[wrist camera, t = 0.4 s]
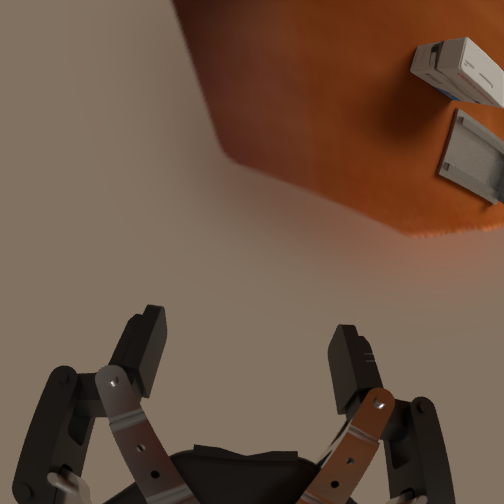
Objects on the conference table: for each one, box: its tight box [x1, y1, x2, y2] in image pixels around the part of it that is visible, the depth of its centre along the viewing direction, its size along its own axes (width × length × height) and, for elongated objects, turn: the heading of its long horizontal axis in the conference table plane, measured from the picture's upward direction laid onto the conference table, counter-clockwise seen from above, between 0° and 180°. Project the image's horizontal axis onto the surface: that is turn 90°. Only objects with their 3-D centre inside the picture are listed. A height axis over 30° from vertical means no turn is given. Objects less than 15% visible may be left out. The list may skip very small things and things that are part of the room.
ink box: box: [410, 37, 504, 108], centre depth 22 cm, size 8×5×12 cm, turn 74°
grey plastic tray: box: [436, 108, 504, 205], centre depth 31 cm, size 11×16×4 cm
